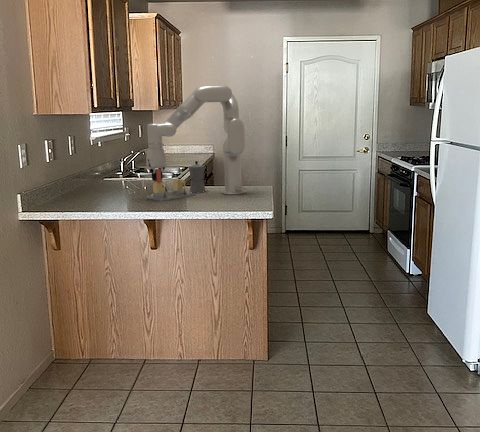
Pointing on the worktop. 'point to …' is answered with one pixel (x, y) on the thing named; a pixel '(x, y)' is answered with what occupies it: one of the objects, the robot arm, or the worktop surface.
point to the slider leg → (158, 183)
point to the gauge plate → (173, 196)
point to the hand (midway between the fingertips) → (157, 179)
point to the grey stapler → (165, 186)
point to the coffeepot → (197, 178)
